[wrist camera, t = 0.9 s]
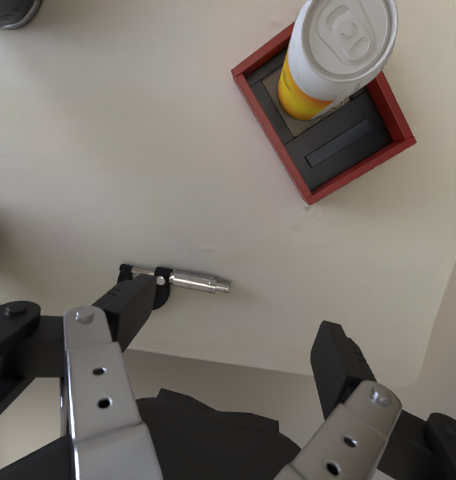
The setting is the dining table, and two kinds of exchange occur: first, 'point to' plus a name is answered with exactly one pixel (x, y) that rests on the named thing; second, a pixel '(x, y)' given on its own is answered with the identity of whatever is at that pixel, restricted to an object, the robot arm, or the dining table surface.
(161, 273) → the micrometer
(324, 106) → the lager tin can
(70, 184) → the dining table surface
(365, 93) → the red picture frame
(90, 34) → the dining table surface
